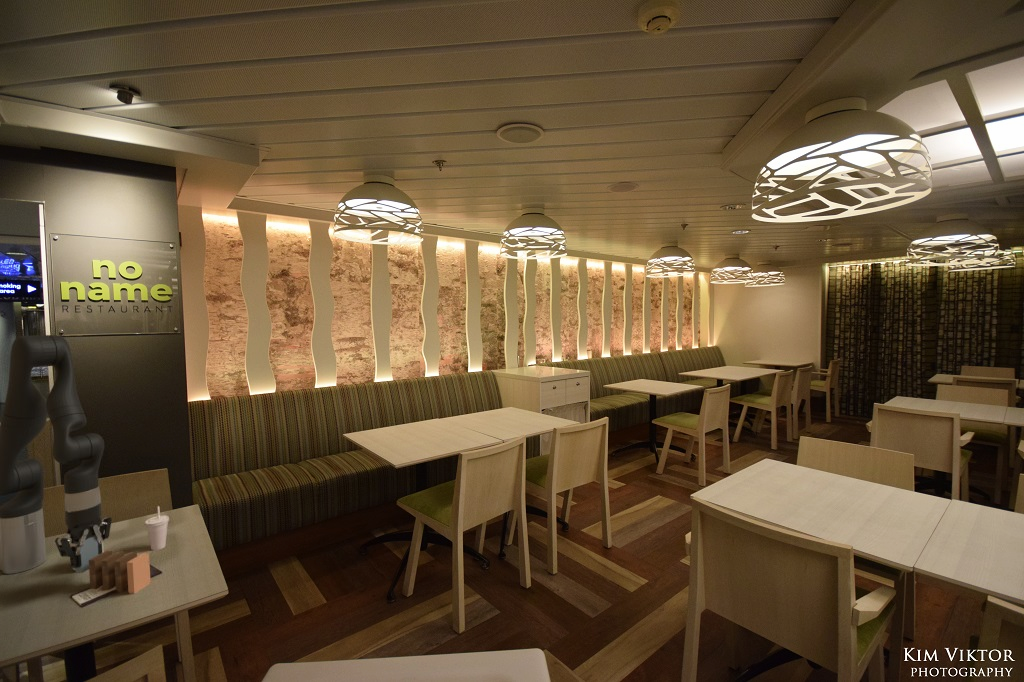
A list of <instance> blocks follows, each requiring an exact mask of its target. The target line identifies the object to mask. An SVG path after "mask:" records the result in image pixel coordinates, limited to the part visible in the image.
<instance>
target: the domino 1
mask: <svg viewBox="0 0 1024 682" xmlns="http://www.w3.org/2000/svg"><path fill="white" fill-rule="evenodd" d="M74 543H79V541H75V542H74ZM75 549H76V547H75V546H74V551H75ZM80 554H81V563H82V566H81V567H79V568H75V569H76V570H75V573H76V574H82V573H84V572H86V571H89V560H90V559H92V558H93V557H95V556H97V555H99V554H98V541H97V539H96V538H95V535H94V536H93V537H91V538H88V539H87V540H85V543H84V545H83V546H82V548H81V551H80Z"/></svg>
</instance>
